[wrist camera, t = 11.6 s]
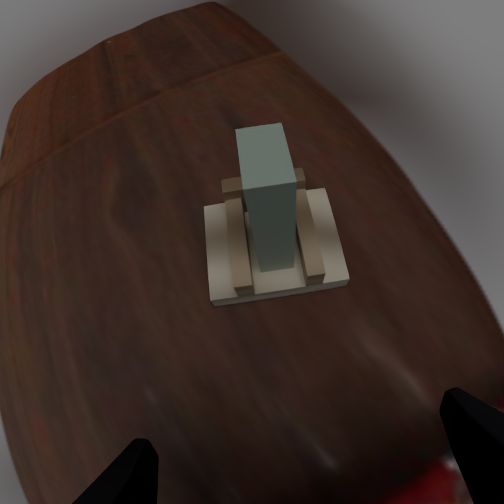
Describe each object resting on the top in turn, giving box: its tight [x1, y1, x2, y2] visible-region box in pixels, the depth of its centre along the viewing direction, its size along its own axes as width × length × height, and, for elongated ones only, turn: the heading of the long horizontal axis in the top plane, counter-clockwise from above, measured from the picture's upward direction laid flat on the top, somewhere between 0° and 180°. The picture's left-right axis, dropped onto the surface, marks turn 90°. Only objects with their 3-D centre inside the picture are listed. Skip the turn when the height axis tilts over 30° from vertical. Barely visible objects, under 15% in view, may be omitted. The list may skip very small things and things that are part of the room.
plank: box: [235, 123, 297, 273], centre depth 19 cm, size 4×2×10 cm, turn 7°
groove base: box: [204, 168, 349, 306], centre depth 23 cm, size 8×10×4 cm
